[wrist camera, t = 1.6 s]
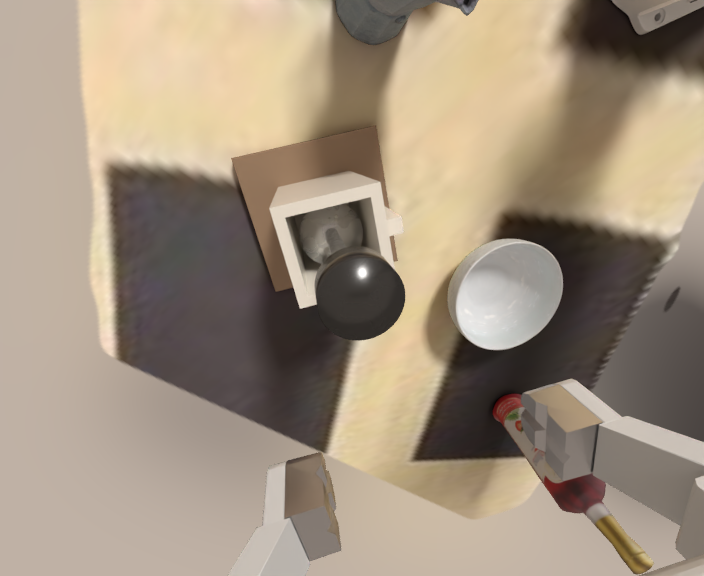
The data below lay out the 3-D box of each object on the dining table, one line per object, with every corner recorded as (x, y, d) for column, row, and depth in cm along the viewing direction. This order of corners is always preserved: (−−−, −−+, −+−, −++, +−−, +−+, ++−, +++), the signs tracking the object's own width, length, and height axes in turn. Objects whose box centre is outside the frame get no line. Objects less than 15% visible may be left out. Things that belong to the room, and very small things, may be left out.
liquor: (508, 382, 63) (655, 539, 37) (530, 398, 66) (681, 557, 40) (480, 408, 64) (603, 577, 39) (503, 423, 67) (632, 591, 42)
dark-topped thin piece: (355, 194, 33) (408, 232, 18) (367, 255, 36) (423, 334, 20) (291, 209, 33) (290, 262, 17) (308, 269, 35) (320, 362, 20)
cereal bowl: (545, 292, 57) (578, 311, 50) (461, 345, 58) (483, 369, 52) (511, 208, 50) (544, 217, 44) (417, 270, 51) (435, 287, 45)
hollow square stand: (373, 126, 43) (425, 110, 26) (394, 257, 50) (446, 312, 33) (233, 158, 41) (191, 163, 25) (276, 287, 49) (267, 360, 32)
